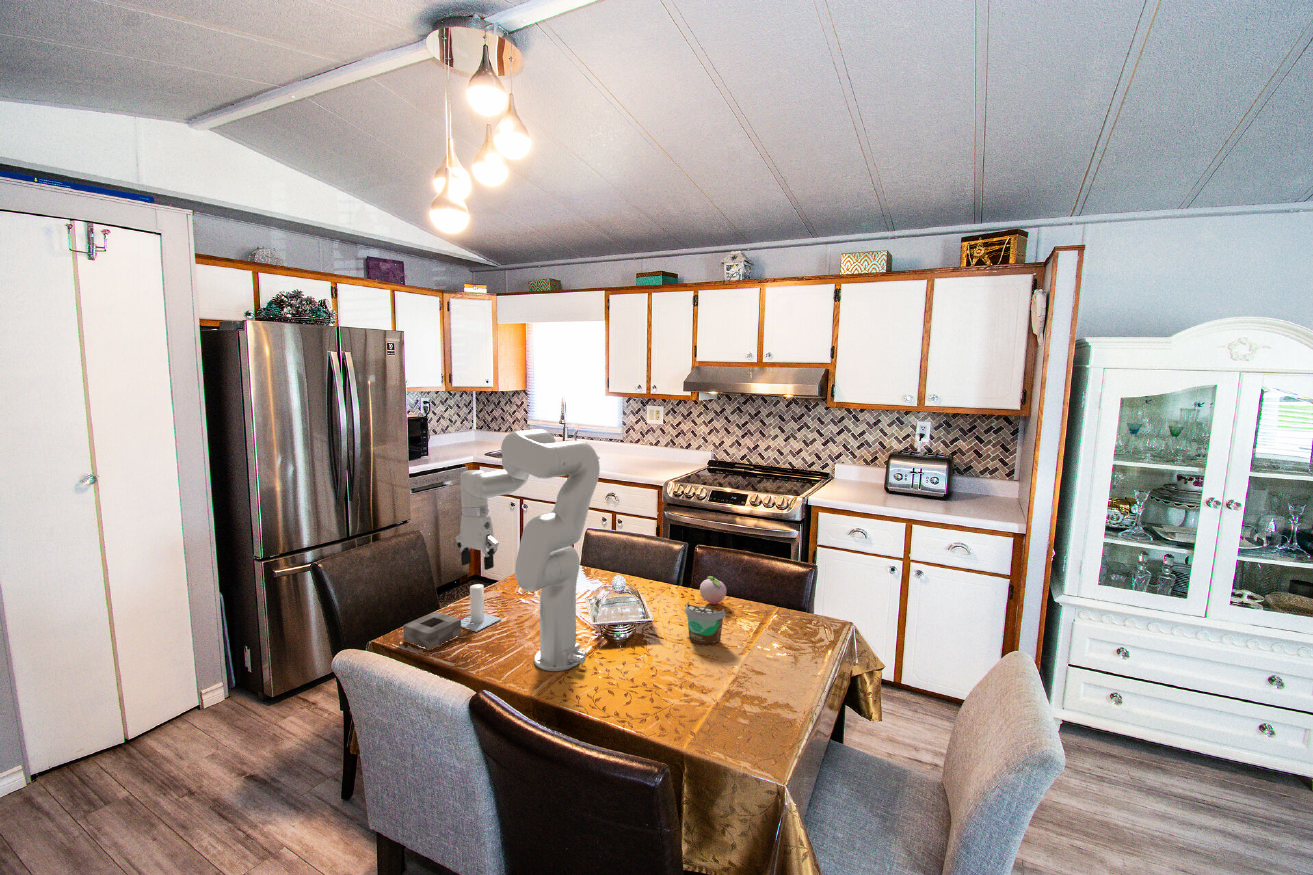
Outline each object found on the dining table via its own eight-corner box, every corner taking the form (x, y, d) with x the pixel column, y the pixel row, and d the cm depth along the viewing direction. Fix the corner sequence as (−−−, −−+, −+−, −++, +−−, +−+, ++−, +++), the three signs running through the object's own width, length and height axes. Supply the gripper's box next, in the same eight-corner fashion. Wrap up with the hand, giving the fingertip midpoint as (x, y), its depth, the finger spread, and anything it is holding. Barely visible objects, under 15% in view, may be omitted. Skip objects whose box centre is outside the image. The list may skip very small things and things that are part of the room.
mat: (501, 620, 173) (501, 618, 173) (476, 632, 165) (476, 630, 165) (478, 613, 178) (478, 611, 178) (453, 625, 170) (453, 623, 170)
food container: (677, 641, 161) (677, 608, 160) (686, 633, 166) (686, 601, 165) (717, 651, 155) (717, 617, 154) (724, 642, 160) (725, 609, 159)
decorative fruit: (694, 602, 189) (694, 573, 188) (714, 597, 193) (714, 570, 192) (709, 612, 181) (710, 582, 180) (730, 607, 185) (730, 578, 184)
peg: (486, 619, 172) (486, 585, 171) (476, 624, 169) (476, 590, 167) (477, 616, 174) (477, 583, 173) (467, 621, 171) (467, 587, 169)
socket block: (461, 635, 163) (460, 619, 162) (429, 651, 153) (429, 634, 153) (436, 627, 168) (435, 611, 168) (404, 641, 159) (403, 625, 158)
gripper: (505, 511, 167) (507, 566, 168) (464, 506, 175) (467, 559, 177) (486, 516, 160) (488, 574, 162) (445, 510, 169) (448, 565, 170)
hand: (477, 566), depth 169 cm, fingers open, 9 cm apart
